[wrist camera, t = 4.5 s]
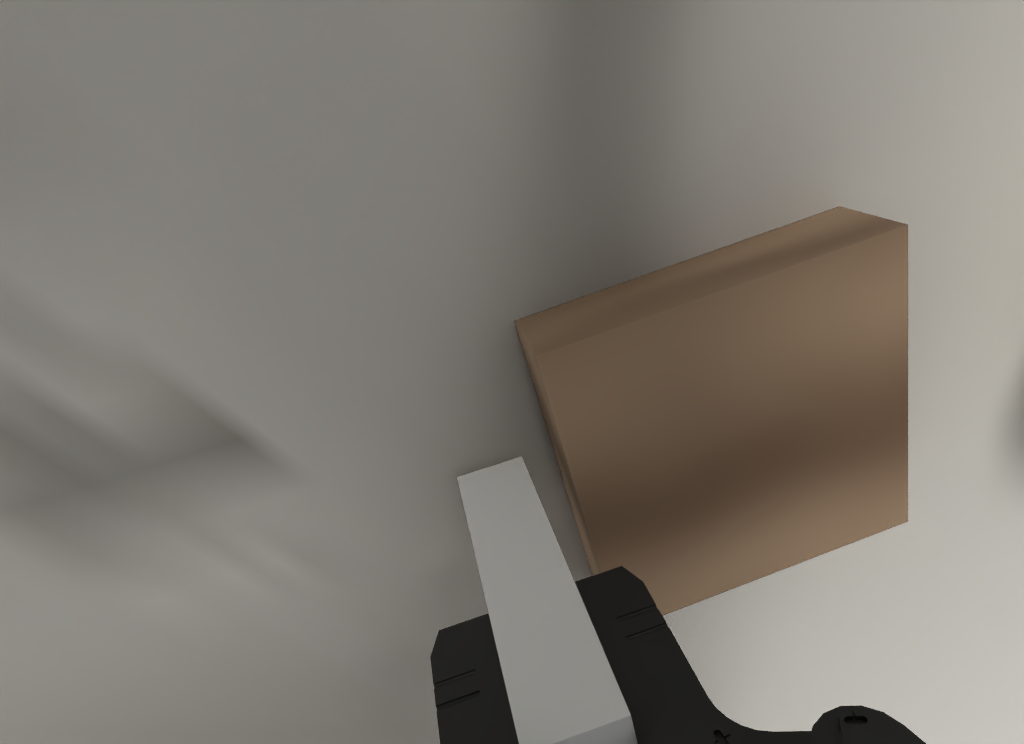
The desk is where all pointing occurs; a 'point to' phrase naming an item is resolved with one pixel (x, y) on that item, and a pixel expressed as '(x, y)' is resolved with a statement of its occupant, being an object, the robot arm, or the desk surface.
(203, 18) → the desk surface
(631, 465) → the flat cardboard box
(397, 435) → the desk surface
